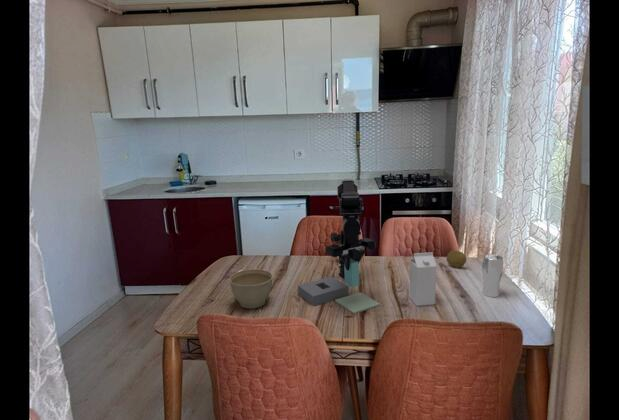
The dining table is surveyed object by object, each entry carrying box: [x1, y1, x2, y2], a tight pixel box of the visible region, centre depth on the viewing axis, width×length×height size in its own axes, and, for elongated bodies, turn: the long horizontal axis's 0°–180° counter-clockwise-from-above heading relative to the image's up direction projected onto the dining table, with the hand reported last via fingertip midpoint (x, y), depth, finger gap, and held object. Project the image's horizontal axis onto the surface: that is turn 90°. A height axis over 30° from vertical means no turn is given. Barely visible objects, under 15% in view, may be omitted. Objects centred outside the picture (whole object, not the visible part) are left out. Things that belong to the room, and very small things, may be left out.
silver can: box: [481, 253, 504, 298], centre depth 141 cm, size 7×7×15 cm
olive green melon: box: [446, 249, 467, 269], centre depth 169 cm, size 7×8×8 cm
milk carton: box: [409, 251, 437, 307], centre depth 136 cm, size 7×7×19 cm
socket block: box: [297, 275, 350, 307], centre depth 146 cm, size 16×12×4 cm
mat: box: [334, 291, 381, 315], centre depth 139 cm, size 12×12×1 cm
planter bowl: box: [228, 268, 274, 310], centre depth 141 cm, size 16×16×11 cm
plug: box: [344, 259, 360, 288], centre depth 137 cm, size 3×5×9 cm, turn 28°
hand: (351, 269), depth 137 cm, fingers closed on plug, 3 cm apart
